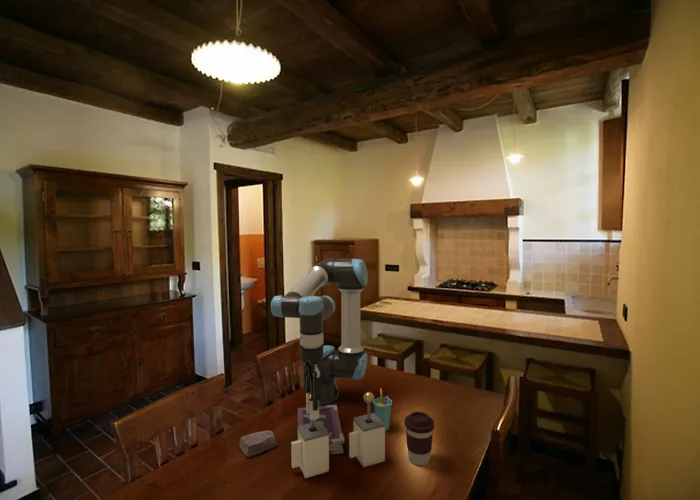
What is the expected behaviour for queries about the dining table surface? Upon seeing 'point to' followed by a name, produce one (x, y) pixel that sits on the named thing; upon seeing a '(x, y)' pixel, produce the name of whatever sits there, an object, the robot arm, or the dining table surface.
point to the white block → (367, 440)
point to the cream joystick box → (311, 450)
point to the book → (326, 425)
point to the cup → (383, 409)
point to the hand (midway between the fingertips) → (312, 415)
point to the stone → (257, 442)
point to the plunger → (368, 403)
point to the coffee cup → (419, 437)
